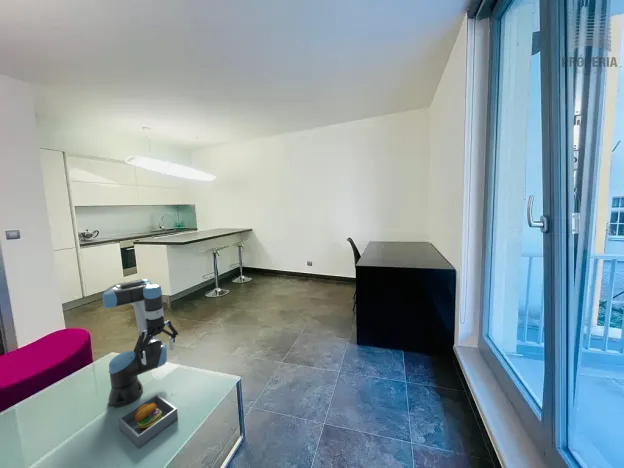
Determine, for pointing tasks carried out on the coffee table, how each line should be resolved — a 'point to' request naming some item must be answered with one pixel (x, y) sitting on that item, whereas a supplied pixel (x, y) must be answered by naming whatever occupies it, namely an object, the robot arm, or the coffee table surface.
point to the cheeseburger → (147, 416)
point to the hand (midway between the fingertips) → (158, 356)
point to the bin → (143, 437)
